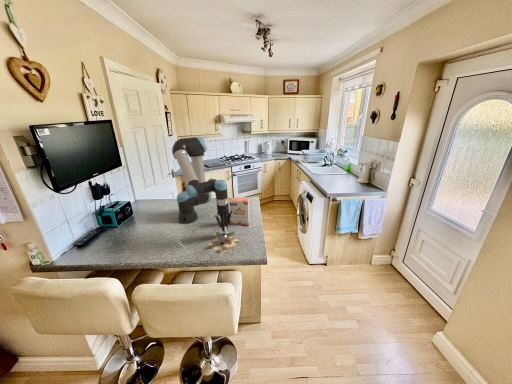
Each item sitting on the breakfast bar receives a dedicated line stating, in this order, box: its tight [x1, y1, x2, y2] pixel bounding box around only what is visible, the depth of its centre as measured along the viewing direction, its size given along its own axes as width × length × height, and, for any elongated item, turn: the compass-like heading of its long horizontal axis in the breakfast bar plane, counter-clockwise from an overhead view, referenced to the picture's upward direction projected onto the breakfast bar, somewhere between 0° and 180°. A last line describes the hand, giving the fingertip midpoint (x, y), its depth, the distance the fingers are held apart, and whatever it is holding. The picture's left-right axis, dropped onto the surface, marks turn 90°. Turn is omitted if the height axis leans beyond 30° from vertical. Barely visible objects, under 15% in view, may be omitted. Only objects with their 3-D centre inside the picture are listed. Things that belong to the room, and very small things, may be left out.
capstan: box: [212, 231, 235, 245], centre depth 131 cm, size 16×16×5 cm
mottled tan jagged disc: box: [206, 231, 242, 255], centre depth 132 cm, size 17×17×3 cm
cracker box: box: [229, 197, 251, 227], centre depth 152 cm, size 14×6×21 cm, turn 84°
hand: (225, 234), depth 138 cm, fingers closed
